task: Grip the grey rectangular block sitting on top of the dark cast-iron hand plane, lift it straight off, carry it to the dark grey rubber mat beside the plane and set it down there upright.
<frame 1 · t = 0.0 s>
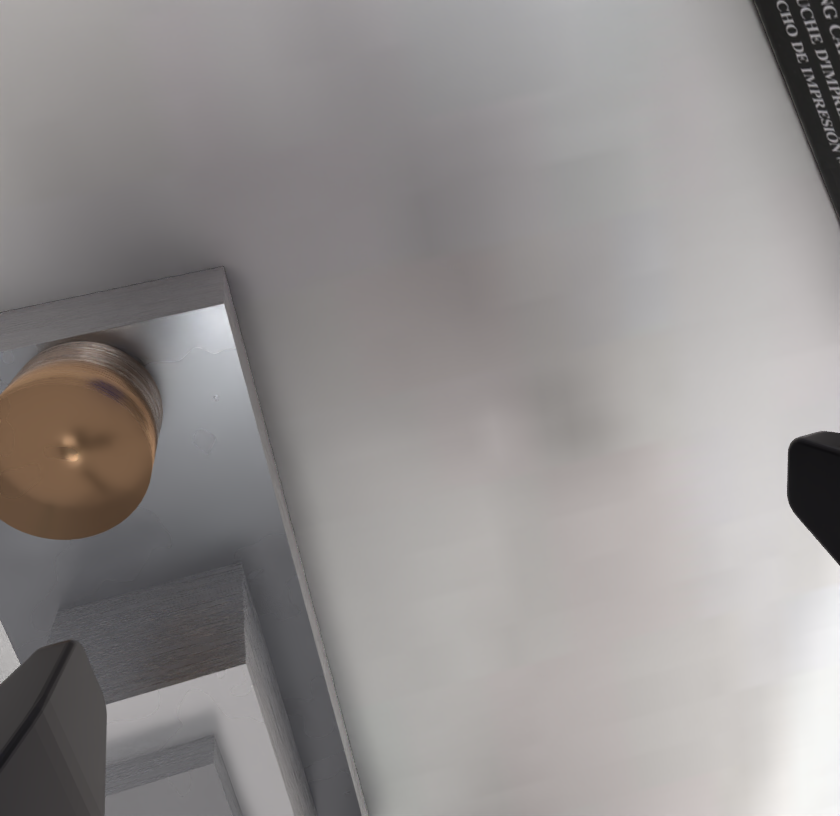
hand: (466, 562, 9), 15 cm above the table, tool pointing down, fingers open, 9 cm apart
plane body: (203, 615, 25), on the table
grey rectangular block: (200, 723, 21), point 5 cm above the table, touching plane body
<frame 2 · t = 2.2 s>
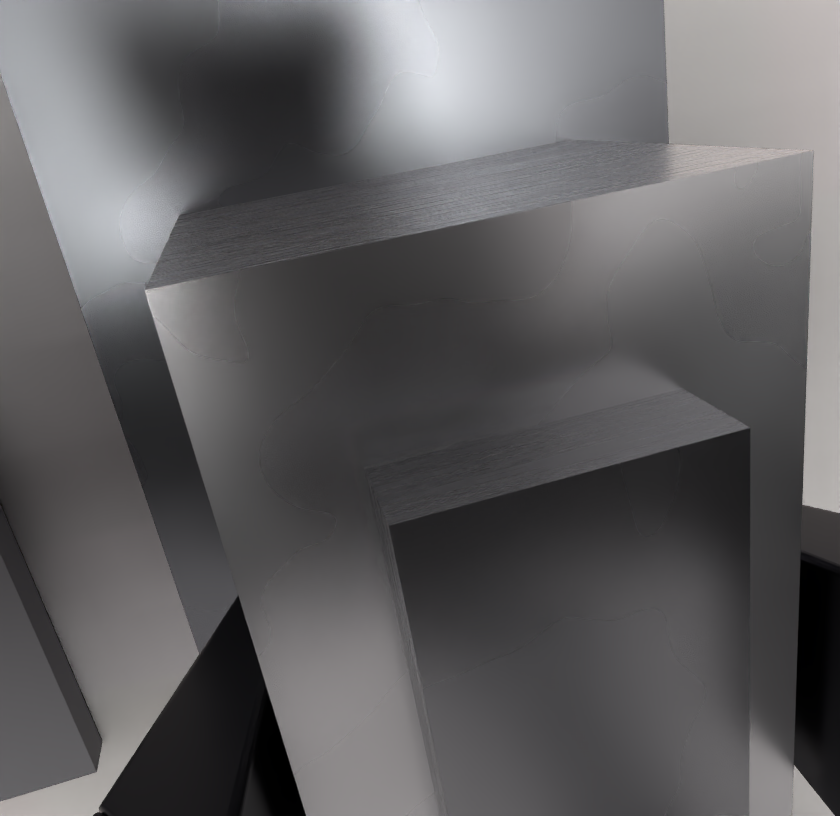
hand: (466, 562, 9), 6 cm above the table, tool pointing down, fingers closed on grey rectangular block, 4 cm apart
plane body: (374, 399, 15), on the table
grey rectangular block: (443, 521, 10), point 5 cm above the table, touching gripper, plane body
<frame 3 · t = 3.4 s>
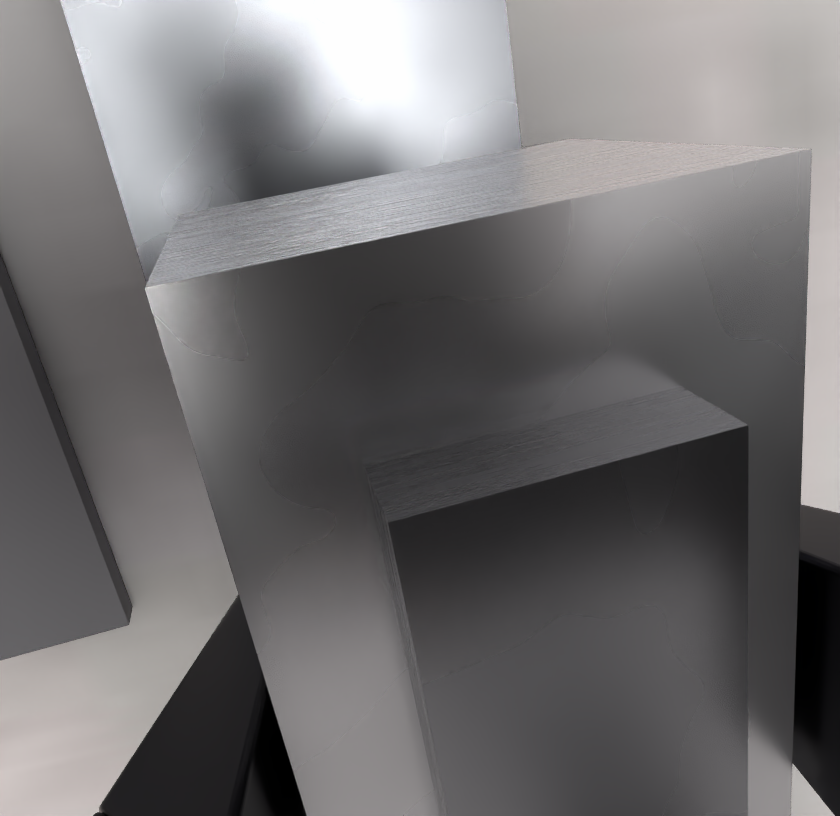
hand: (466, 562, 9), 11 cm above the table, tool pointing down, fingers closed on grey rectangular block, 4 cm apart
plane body: (340, 338, 19), on the table
grey rectangular block: (443, 520, 10), point 10 cm above the table, touching gripper
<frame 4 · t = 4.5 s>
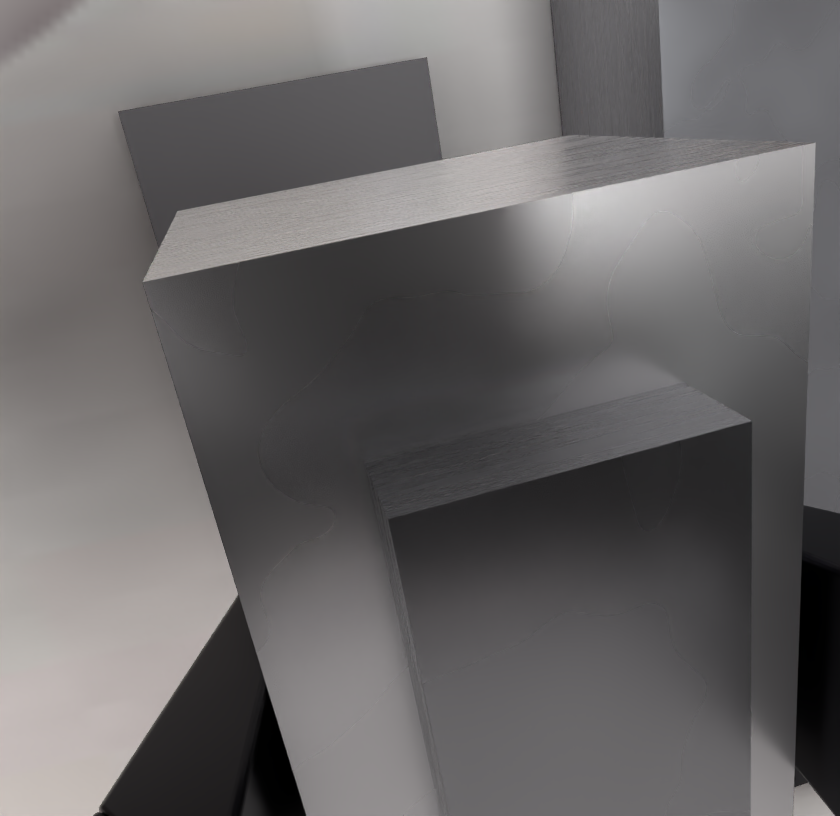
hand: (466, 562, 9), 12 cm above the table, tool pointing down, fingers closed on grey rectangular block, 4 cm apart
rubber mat: (329, 329, 20), on the table
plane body: (688, 246, 22), on the table
grey rectangular block: (443, 518, 10), point 11 cm above the table, touching gripper
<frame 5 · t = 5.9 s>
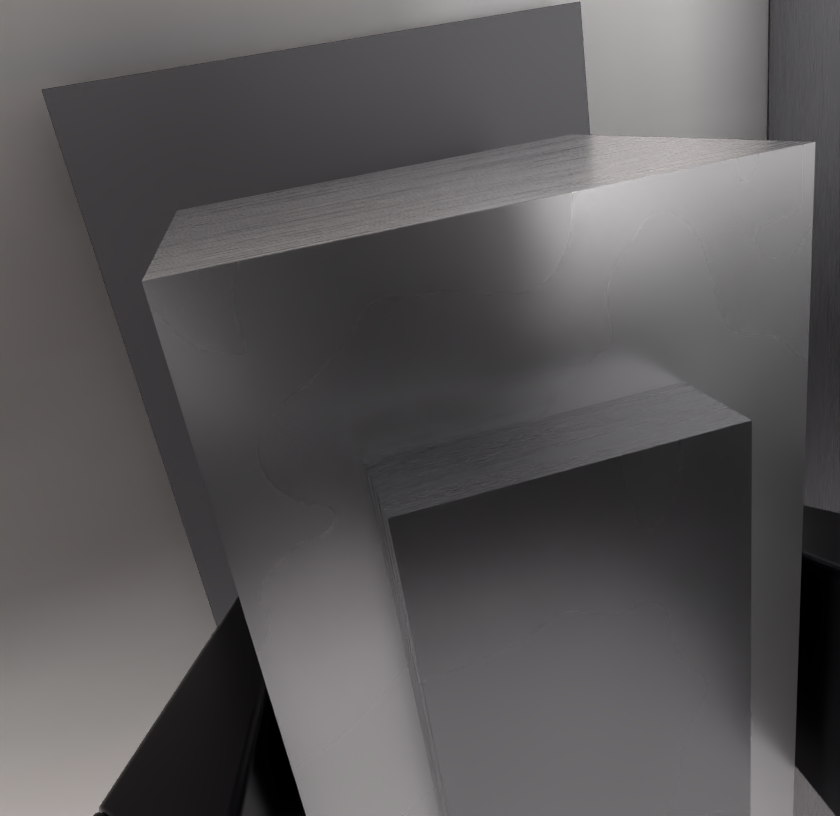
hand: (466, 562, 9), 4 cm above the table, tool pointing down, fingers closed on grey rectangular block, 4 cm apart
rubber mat: (395, 440, 13), on the table
grey rectangular block: (443, 518, 10), point 3 cm above the table, touching gripper
when the fingers open (3 cm above the table, at t = 6.7 s): grey rectangular block drops 2 cm, resting on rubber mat.
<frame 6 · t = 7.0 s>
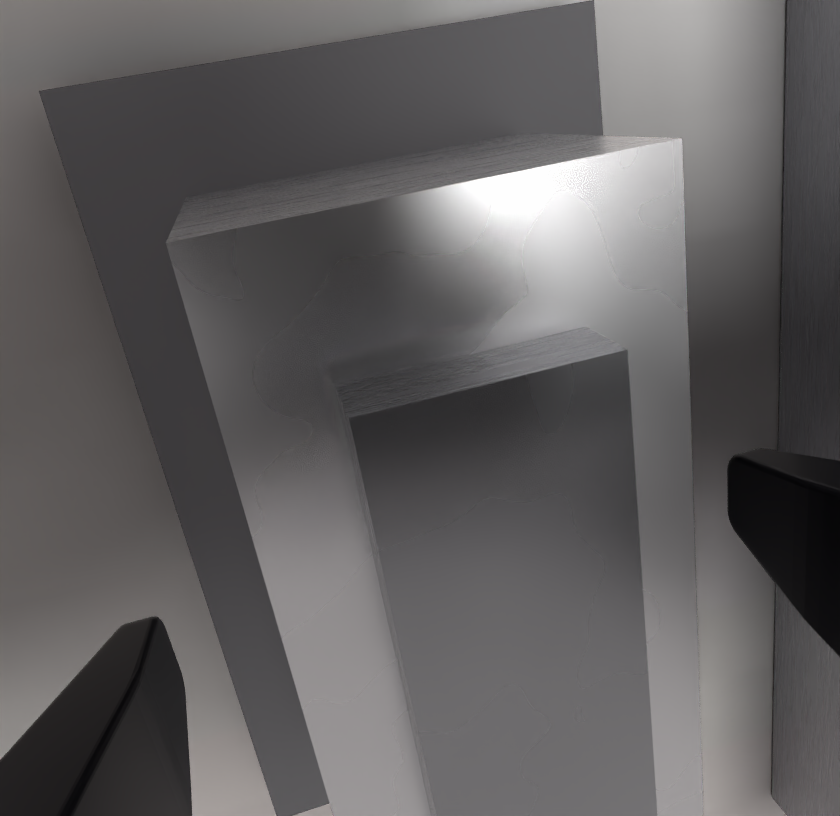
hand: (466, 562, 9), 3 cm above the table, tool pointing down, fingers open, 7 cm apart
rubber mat: (401, 449, 12), on the table
grey rectangular block: (416, 466, 12), point 1 cm above the table, touching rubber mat
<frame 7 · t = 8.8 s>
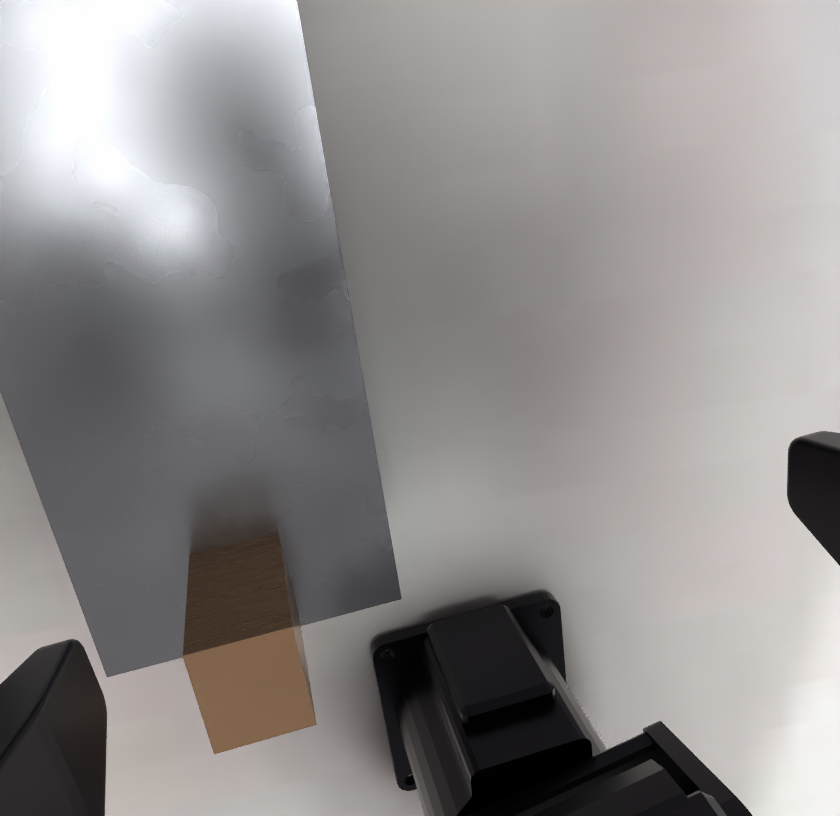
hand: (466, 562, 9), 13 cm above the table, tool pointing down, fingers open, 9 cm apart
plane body: (151, 145, 19), on the table
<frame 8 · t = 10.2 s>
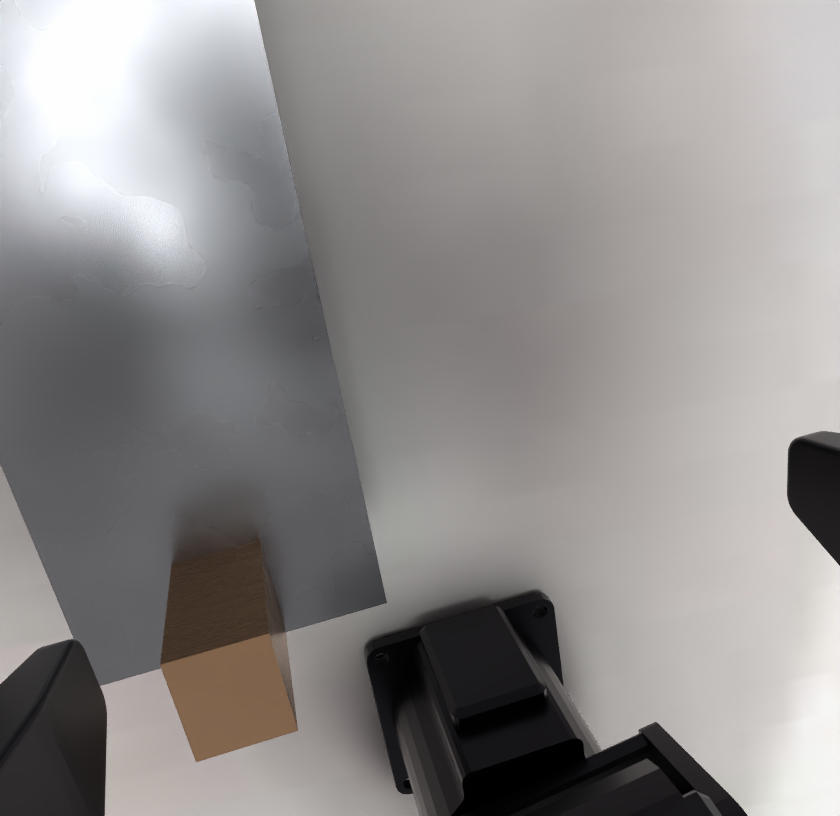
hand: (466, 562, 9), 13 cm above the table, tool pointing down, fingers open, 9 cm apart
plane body: (126, 158, 19), on the table
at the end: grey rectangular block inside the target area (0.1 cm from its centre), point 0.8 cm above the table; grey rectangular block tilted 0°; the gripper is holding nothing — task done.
